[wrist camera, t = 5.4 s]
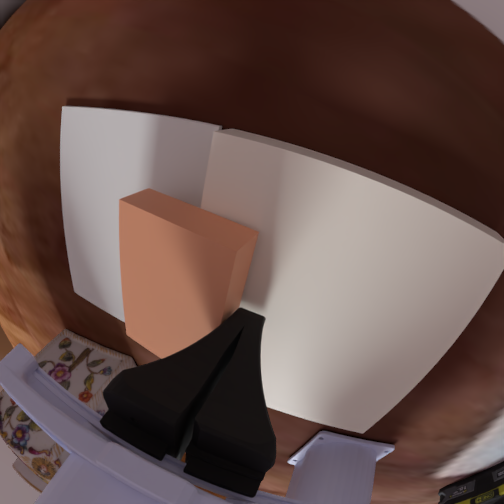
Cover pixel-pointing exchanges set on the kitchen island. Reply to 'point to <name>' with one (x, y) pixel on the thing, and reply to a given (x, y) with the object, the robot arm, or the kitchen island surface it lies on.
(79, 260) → the mat
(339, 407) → the white flat slab
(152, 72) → the kitchen island surface
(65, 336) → the floral ceramic jar
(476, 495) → the power drill
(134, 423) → the robot arm
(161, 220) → the pink flat block
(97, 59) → the kitchen island surface
